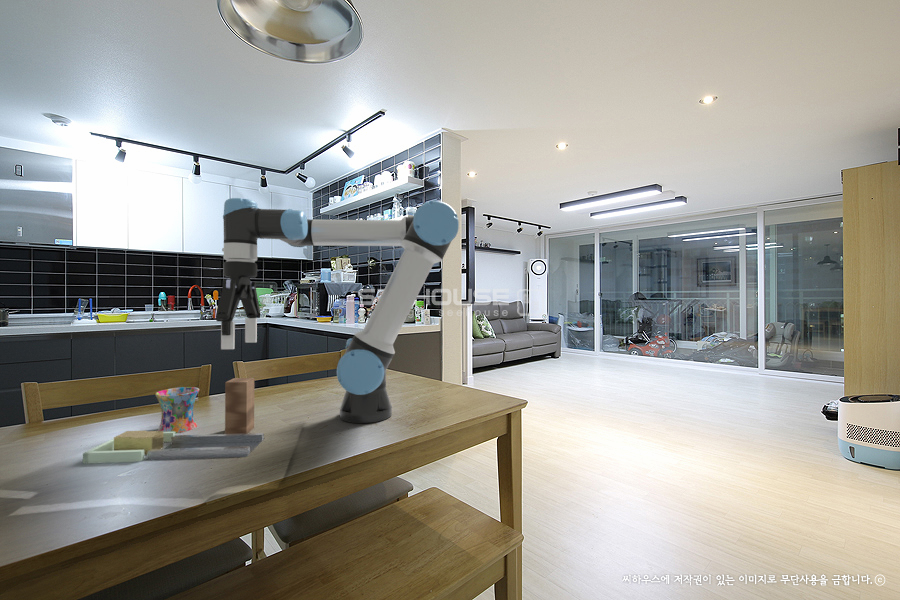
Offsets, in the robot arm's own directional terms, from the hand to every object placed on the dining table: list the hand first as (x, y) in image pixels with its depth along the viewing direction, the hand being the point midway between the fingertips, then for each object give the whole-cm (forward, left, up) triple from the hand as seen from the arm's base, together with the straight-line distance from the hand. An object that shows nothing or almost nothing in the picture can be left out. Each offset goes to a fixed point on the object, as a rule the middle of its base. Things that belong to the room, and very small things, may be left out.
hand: (240, 345), depth 99 cm
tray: (+18, +11, -23) cm, 31 cm away
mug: (+17, -5, -23) cm, 29 cm away
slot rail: (+2, +11, -23) cm, 25 cm away
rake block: (0, 0, -23) cm, 23 cm away
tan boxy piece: (+15, +11, -22) cm, 29 cm away
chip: (+19, +11, -22) cm, 31 cm away
